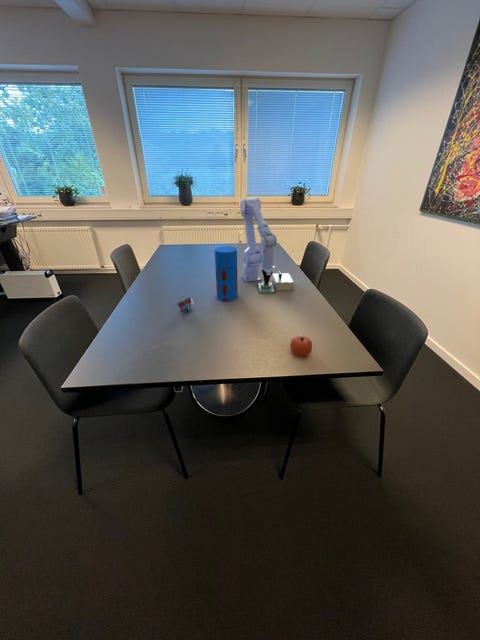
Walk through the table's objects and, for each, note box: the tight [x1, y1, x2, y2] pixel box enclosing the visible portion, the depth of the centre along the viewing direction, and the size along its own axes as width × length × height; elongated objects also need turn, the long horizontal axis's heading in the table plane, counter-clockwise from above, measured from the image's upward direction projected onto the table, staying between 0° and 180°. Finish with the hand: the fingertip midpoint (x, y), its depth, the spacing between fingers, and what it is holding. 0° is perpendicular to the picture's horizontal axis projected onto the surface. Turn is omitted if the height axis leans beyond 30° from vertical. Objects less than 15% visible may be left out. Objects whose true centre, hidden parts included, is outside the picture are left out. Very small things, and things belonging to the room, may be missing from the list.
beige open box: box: [272, 276, 295, 291], centre depth 146 cm, size 9×13×4 cm
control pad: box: [257, 281, 276, 294], centre depth 143 cm, size 8×11×3 cm
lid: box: [271, 270, 295, 284], centre depth 144 cm, size 10×13×4 cm
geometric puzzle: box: [177, 296, 195, 312], centre depth 121 cm, size 7×7×8 cm
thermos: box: [214, 245, 239, 302], centre depth 129 cm, size 11×11×25 cm
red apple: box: [289, 335, 313, 357], centre depth 93 cm, size 8×8×7 cm
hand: (266, 282), depth 141 cm, fingers closed, pressing on button
